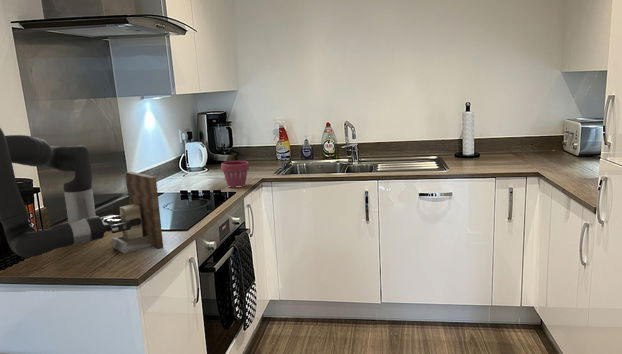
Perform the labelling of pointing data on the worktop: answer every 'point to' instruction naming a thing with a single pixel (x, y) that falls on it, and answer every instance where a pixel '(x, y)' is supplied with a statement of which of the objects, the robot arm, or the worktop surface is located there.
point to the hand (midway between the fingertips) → (134, 218)
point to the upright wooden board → (143, 213)
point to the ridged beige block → (128, 214)
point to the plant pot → (235, 172)
